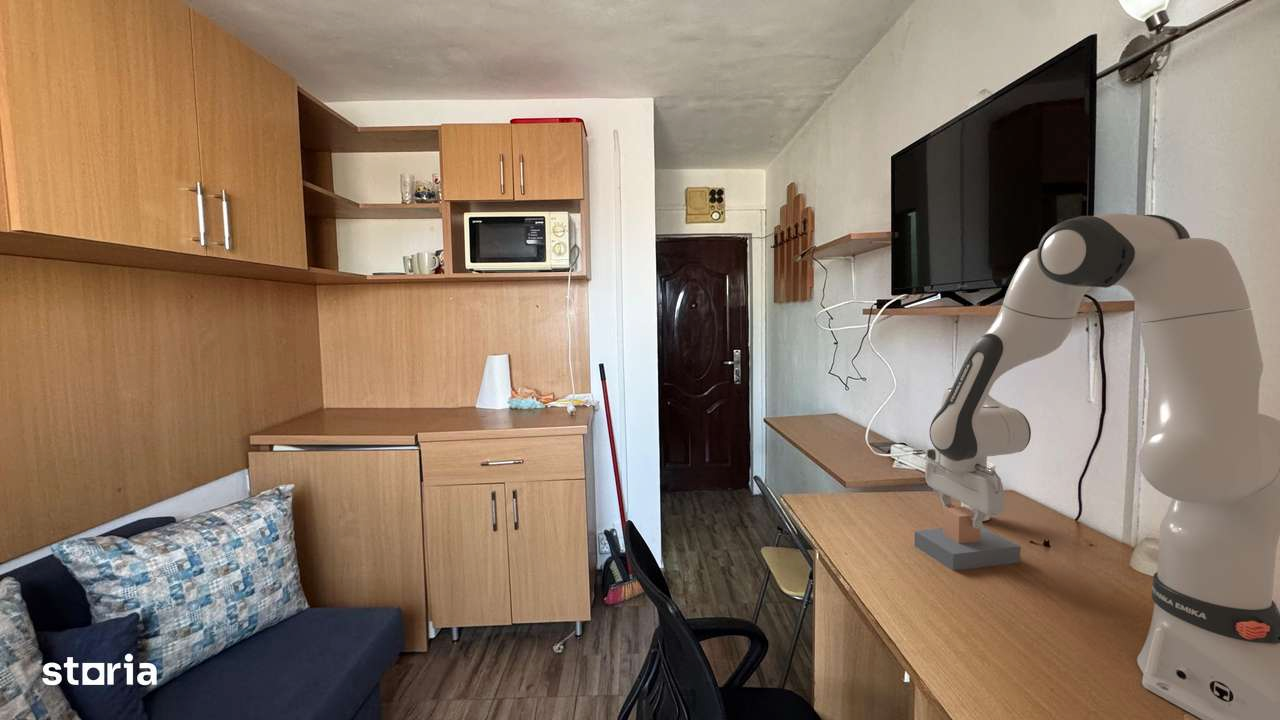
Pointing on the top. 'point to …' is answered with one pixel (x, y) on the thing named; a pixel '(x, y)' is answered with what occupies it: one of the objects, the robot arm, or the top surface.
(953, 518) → the block
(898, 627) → the top surface
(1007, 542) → the grey flat slab
